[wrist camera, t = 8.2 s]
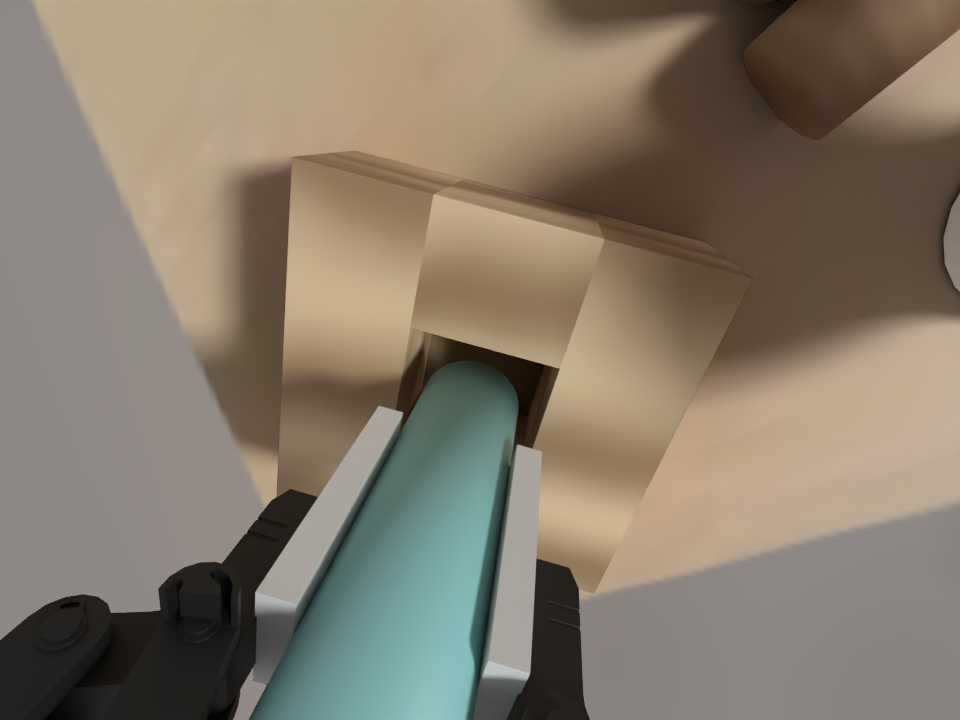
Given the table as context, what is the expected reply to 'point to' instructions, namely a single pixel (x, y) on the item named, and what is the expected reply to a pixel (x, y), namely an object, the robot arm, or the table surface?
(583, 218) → the hole block
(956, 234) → the cup
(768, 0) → the pin short
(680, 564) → the table surface
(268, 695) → the pin long
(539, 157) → the table surface
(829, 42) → the pin medium
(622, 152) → the table surface
